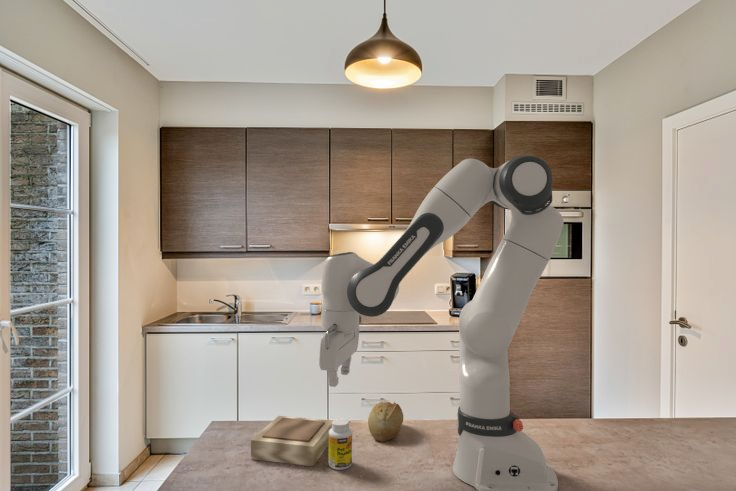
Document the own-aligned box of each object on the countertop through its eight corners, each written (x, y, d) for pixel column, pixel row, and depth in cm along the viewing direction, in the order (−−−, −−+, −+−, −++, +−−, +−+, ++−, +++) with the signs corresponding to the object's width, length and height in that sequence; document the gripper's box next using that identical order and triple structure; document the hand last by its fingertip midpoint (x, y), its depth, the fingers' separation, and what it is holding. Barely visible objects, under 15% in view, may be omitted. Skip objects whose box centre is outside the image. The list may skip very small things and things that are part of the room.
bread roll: (405, 422, 131) (405, 395, 131) (401, 445, 116) (401, 414, 116) (372, 421, 133) (372, 394, 133) (365, 443, 118) (365, 412, 118)
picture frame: (333, 437, 121) (333, 419, 121) (313, 466, 105) (313, 444, 105) (278, 432, 124) (278, 414, 124) (250, 459, 109) (250, 438, 109)
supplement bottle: (335, 473, 102) (335, 428, 102) (324, 463, 106) (324, 420, 106) (356, 466, 105) (356, 423, 105) (344, 457, 109) (344, 415, 109)
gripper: (340, 329, 95) (340, 395, 95) (363, 315, 115) (362, 369, 115) (312, 328, 96) (311, 392, 96) (339, 314, 116) (339, 367, 116)
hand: (339, 379), depth 106 cm, fingers open, 8 cm apart
